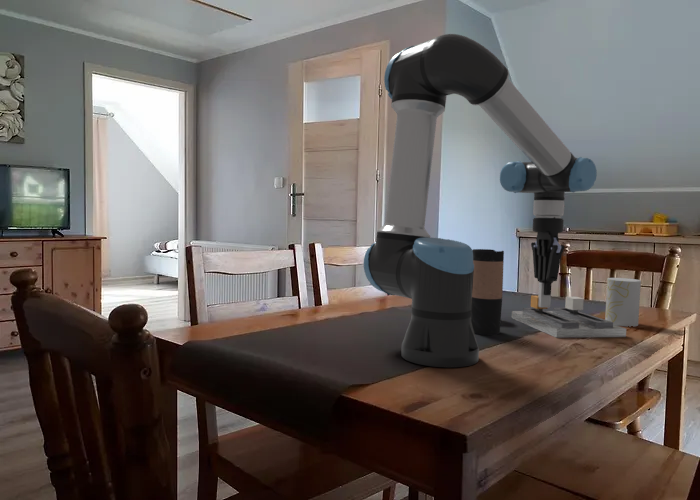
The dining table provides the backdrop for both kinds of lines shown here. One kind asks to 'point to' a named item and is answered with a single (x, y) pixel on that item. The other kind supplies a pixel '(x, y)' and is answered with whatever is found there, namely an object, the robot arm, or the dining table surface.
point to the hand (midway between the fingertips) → (544, 306)
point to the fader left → (536, 304)
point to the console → (568, 323)
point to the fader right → (574, 304)
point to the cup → (623, 301)
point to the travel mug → (487, 291)
